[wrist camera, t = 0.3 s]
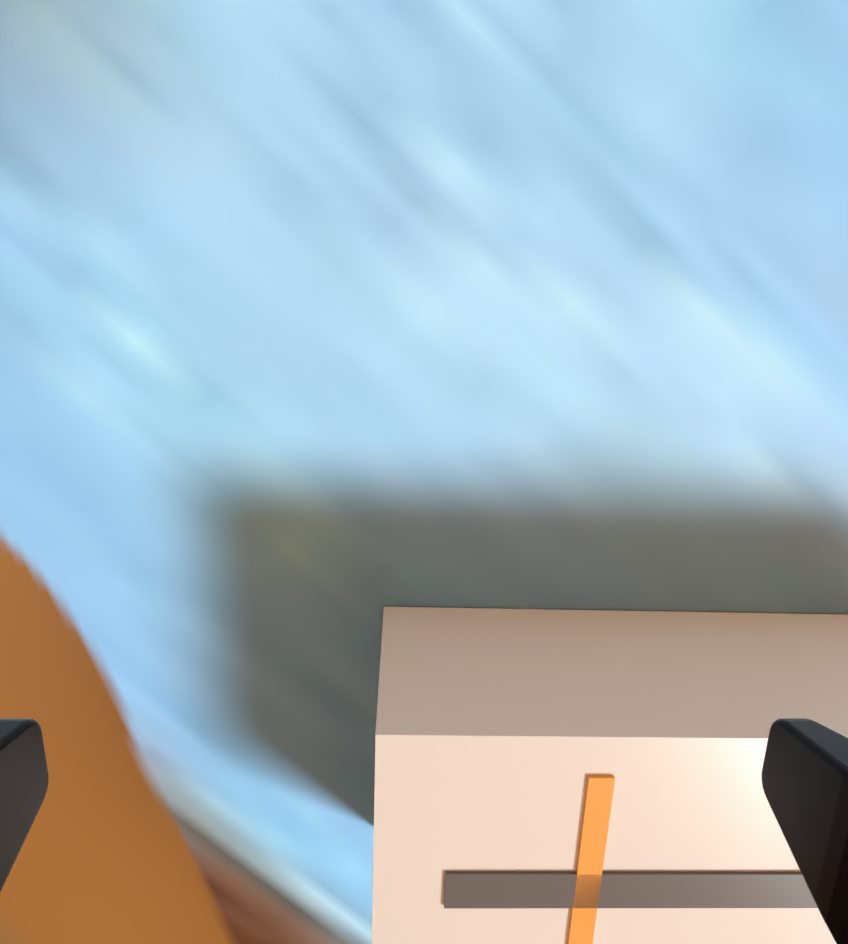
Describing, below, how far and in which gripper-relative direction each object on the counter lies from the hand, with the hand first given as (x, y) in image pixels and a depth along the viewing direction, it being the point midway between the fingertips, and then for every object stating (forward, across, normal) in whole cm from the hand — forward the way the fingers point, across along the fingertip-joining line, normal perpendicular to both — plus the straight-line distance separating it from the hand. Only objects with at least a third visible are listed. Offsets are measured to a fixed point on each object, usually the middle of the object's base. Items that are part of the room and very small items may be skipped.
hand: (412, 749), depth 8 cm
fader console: (+14, -10, +11) cm, 21 cm away
